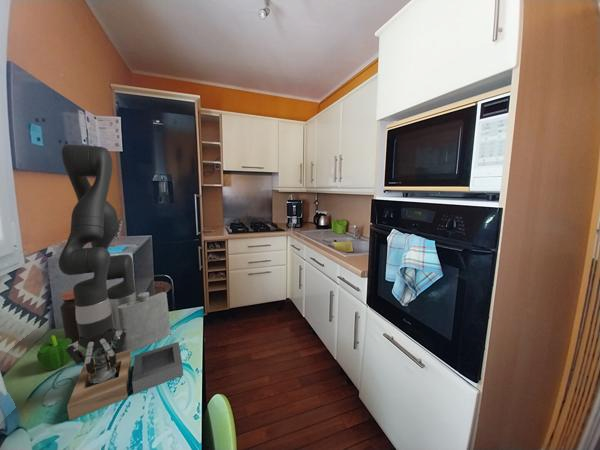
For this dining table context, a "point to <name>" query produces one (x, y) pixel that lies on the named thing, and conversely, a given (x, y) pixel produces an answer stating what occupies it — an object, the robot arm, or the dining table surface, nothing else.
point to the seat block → (156, 367)
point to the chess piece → (102, 368)
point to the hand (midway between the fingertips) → (102, 368)
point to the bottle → (69, 316)
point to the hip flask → (144, 320)
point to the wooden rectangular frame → (100, 388)
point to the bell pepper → (54, 353)
